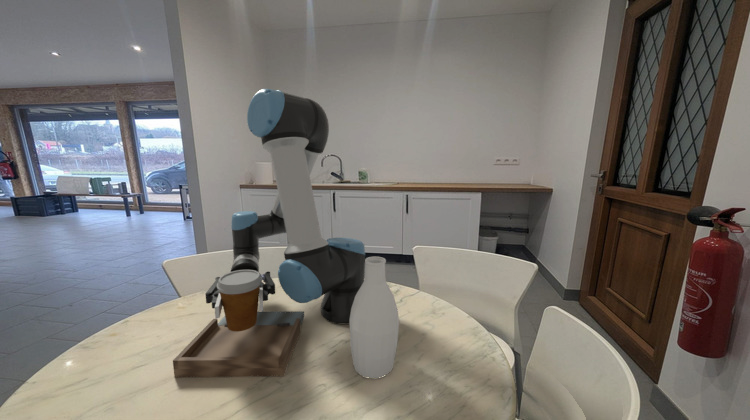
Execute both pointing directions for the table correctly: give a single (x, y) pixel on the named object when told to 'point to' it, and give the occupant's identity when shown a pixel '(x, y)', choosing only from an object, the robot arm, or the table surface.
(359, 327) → the bottle
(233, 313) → the disposable coffee cup
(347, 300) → the robot arm
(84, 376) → the table surface
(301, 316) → the shallow wooden crate
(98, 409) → the table surface
